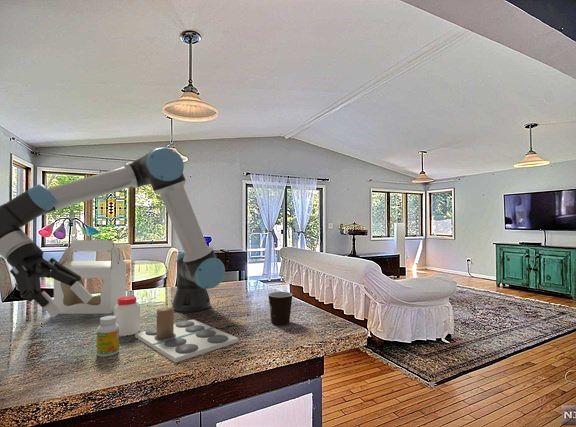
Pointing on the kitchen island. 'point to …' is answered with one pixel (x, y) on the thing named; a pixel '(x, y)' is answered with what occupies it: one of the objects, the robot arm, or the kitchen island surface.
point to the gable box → (105, 270)
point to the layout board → (183, 337)
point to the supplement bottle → (107, 336)
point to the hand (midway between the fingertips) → (74, 306)
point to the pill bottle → (127, 315)
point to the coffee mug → (280, 307)
